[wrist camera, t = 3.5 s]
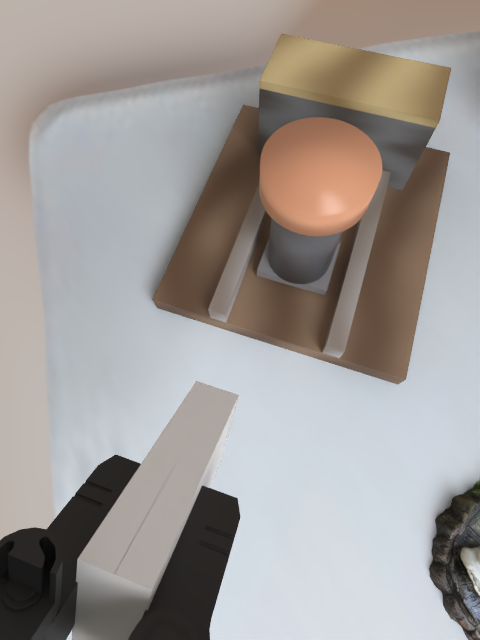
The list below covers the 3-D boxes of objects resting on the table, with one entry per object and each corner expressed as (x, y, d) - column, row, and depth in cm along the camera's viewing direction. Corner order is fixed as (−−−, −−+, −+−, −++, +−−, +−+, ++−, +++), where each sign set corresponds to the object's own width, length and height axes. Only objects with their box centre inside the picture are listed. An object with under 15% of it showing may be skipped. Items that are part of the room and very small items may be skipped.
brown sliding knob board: (441, 166, 34) (496, 77, 26) (397, 384, 27) (455, 348, 19) (243, 119, 36) (241, 25, 29) (157, 307, 29) (125, 250, 22)
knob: (348, 239, 29) (393, 132, 20) (328, 310, 27) (367, 226, 18) (270, 218, 30) (280, 106, 21) (245, 285, 28) (243, 193, 19)
